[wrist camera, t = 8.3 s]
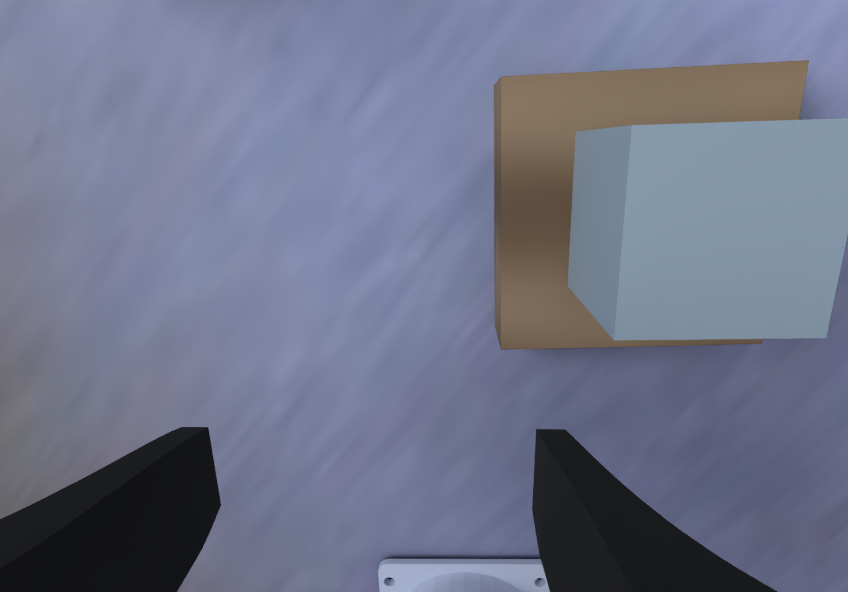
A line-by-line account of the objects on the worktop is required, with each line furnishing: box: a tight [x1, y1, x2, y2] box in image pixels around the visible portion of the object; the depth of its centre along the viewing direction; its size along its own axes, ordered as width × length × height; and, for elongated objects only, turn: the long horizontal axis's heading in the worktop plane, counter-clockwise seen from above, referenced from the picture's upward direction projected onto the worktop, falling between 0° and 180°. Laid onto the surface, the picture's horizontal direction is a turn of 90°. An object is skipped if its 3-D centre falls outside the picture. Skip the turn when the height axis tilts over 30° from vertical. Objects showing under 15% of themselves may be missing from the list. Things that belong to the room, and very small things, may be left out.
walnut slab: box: [494, 60, 809, 350], centre depth 18 cm, size 9×9×3 cm
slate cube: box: [568, 118, 848, 340], centre depth 14 cm, size 5×5×5 cm
